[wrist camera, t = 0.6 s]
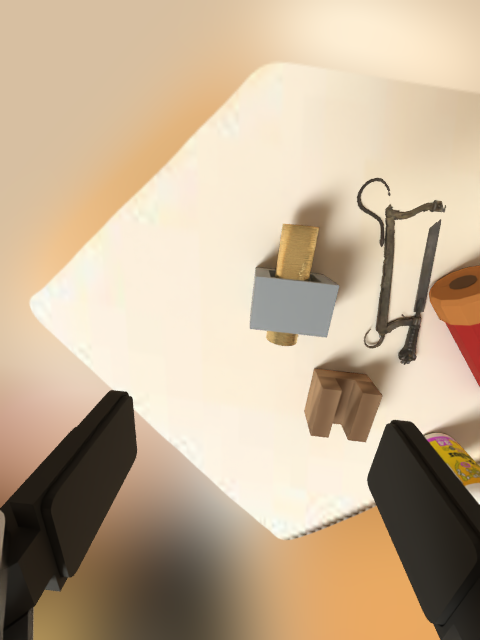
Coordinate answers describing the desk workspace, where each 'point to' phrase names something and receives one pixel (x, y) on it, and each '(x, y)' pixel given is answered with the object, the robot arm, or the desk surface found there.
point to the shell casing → (461, 311)
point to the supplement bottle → (457, 461)
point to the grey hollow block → (292, 303)
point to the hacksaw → (381, 325)
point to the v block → (341, 403)
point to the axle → (294, 265)
